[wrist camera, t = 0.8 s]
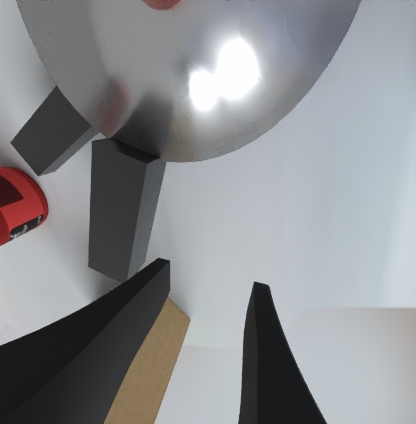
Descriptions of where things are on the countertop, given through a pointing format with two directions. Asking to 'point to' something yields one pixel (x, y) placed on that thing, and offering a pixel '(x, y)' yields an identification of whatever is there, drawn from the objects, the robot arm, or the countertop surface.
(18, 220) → the canned food
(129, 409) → the sandwich container
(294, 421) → the robot arm
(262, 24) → the cooker lid
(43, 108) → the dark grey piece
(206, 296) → the countertop surface
